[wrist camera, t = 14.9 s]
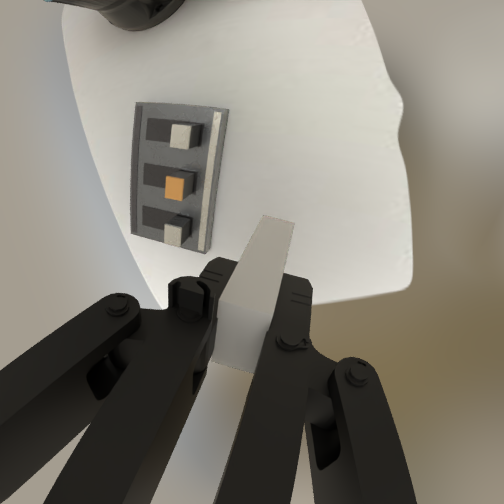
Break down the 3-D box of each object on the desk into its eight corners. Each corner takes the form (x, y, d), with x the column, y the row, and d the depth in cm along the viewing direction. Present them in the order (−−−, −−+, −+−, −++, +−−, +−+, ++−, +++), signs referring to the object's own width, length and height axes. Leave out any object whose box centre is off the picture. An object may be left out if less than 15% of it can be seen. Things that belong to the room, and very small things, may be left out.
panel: (143, 102, 37) (119, 103, 32) (228, 109, 35) (214, 109, 30) (137, 228, 47) (117, 243, 42) (209, 248, 46) (195, 267, 41)
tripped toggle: (178, 170, 38) (166, 176, 35) (194, 173, 38) (183, 179, 35) (176, 190, 40) (164, 197, 37) (192, 193, 40) (181, 201, 36)
